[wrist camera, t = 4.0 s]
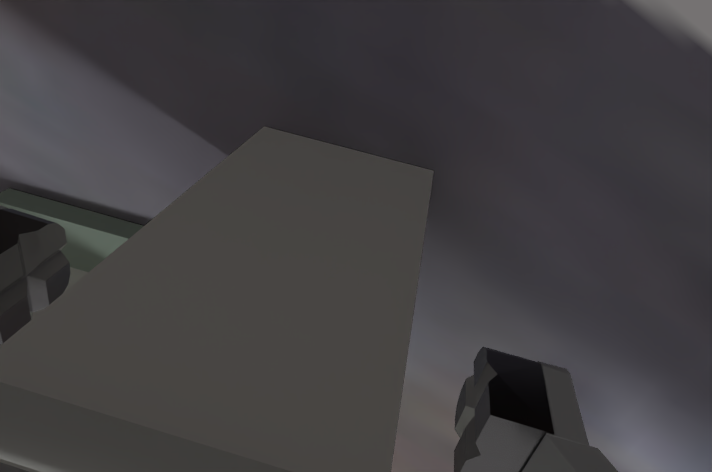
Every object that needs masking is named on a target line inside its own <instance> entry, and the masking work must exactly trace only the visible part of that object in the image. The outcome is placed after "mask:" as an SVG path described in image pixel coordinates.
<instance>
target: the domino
mask: <svg viewBox="0 0 712 472" xmlns="http://www.w3.org/2000/svg"><path fill="white" fill-rule="evenodd" d="M433 174H434V171H433V170H429V169H425V168H421V167H418V166H414V165H410V164H406V163H402V162H398V161H395V160H391V159H387V158H383V157H379V156H376V155H372V154H368V153H364V152H360V151H356V150H353V149H349V148H345V147H341V146H337V145H334V144H330V143H326V142H322V141H318V140H314V139H311V138H307V137H303V136H299V135H295V134H292V133H288V132H284V131H280V130H276V129H272V128H269V127H265V126H264V127H263V128H262V129H260V130H259V131H258V132H257V133H256V134H254V135H253V136H252V137H251V138H249V139H248V140H247V141H246V142H245V143H243V144H242V145H241V146H240V147H239V148H237V149H236V150H235V151H234V152H233V153H231V154H230V155H229V156H228V157H227V158H225V159H224V160H223V161H222V162H221V163H219V164H218V165H217V166H216V167H215V168H213V169H212V170H211V171H210V172H209V173H207V174H206V175H205V176H204V177H203V178H201V179H200V180H199V181H198V182H197V183H195V184H194V185H193V186H192V187H191V188H189V189H188V190H187V191H186V192H185V193H183V194H182V195H181V196H180V197H179V198H177V199H176V200H175V201H174V202H173V203H171V204H170V205H169V206H168V207H166V208H165V209H164V210H163V211H162V212H160V213H159V214H158V215H157V216H156V217H154V218H153V219H152V220H151V221H150V222H148V223H147V224H146V225H145V226H144V227H142V228H141V229H140V230H139V231H138V232H136V233H135V234H134V235H133V236H132V237H130V238H129V239H128V240H127V241H126V242H124V243H123V244H122V245H121V246H120V247H118V248H117V249H116V250H115V251H114V252H112V253H111V254H110V255H109V256H108V257H106V258H105V259H104V260H103V261H102V262H100V263H99V264H98V265H97V266H96V267H94V268H93V269H92V270H91V271H90V272H88V273H87V274H86V275H85V276H83V277H82V278H81V279H80V280H79V281H77V282H76V283H75V284H74V285H73V286H71V287H70V288H69V289H68V290H67V291H65V292H64V293H63V294H62V295H61V296H59V297H58V298H57V299H56V300H55V301H53V302H52V303H51V304H50V305H49V306H47V307H46V308H45V309H44V310H43V311H41V312H40V313H39V314H38V315H37V316H35V317H34V318H33V319H32V320H31V321H29V322H28V323H27V324H26V325H25V326H23V327H22V328H21V329H20V330H19V331H17V332H16V333H15V334H14V335H13V336H11V337H10V338H9V339H8V340H7V341H5V342H4V343H3V344H2V345H0V459H3V460H6V461H9V462H12V463H15V464H18V465H21V466H25V467H28V468H31V469H34V470H37V471H40V472H391V468H392V461H393V454H394V447H395V440H396V433H397V426H398V419H399V412H400V405H401V398H402V391H403V384H404V377H405V370H406V363H407V356H408V349H409V342H410V335H411V328H412V321H413V314H414V307H415V300H416V293H417V286H418V279H419V272H420V265H421V258H422V251H423V244H424V237H425V230H426V223H427V216H428V209H429V202H430V195H431V188H432V181H433Z"/></svg>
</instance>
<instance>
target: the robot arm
mask: <svg viewBox="0 0 712 472" xmlns="http://www.w3.org/2000/svg"><path fill="white" fill-rule="evenodd" d="M66 244H67V240H66V234H65V229H64V228H63V227H62V226H60V225H59V224H58V223H55V222H52V221H49V220H46V219H43V218H39V217H36V216H33V215H30V214H27V213H23V212H20V211H17V210H14V209H9V208H6V207H3V206H0V345H2V344H3V343H4V342H5V341H7V340H8V339H9V338H10V337H11V336H13V335H14V334H15V333H16V332H17V331H19V330H20V329H21V328H22V327H23V326H25V325H26V324H27V323H28V322H29V321H31V320H32V317H33V312H36V311H39V310H43V309H45V308H46V307H47V306H49V305H50V304H51V303H52V302H53V301H55V300H56V299H57V298H58V297H59V296H61V295H62V294H63V293H64V291H65V289H66V287H67V286H68V283H69V278H70V263H69V261H68V260H67V258H66V257H65V256H64V254H63V253H62V251H61V250H62V249H63V247H64V246H65V245H66ZM455 430H456V432H457V434H458V435H459V437H460V440H459V442H458V444H457V446H456V448H455V450H454V472H618V471H617V470H616V469H615V467H614V466H613V465H612V464H611V463H610V462H609V461H608V459H607V458H606V457H605V456H604V455H603V454H602V452H601V451H600V450H599V449H598V448H595V447H591V446H589V443H588V439H587V435H586V432H585V428H584V424H583V420H582V417H581V413H580V409H579V405H578V402H577V398H576V394H575V390H574V386H573V383H572V379H571V375H570V373H569V372H568V370H567V369H565V368H561V367H557V366H554V365H550V364H546V363H542V362H539V361H538V362H535V361H532V360H529V359H525V358H522V357H518V356H515V355H511V354H508V353H504V352H501V351H497V350H493V349H490V348H486V347H482V348H481V349H480V351H479V352H478V354H477V356H476V358H475V360H474V375H473V376H471V377H469V378H467V379H466V380H465V382H464V385H463V387H462V389H461V392H460V395H459V399H458V403H457V407H456V415H455ZM0 472H29V471H26V470H23V469H20V468H17V467H13V466H10V465H7V464H4V463H1V462H0Z"/></svg>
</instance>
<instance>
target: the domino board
mask: <svg viewBox="0 0 712 472" xmlns="http://www.w3.org/2000/svg"><path fill="white" fill-rule="evenodd" d="M0 206H3V207H6V208H9V209H14V210H17V211H20V212H23V213H27V214H30V215H33V216H36V217H39V218H43V219H46V220H49V221H52V222H55V223H58V224H59V225H60V226H62V227H63V228H64V229H65V234H66V240H67V244H66V245H65V246H64V247H63V249H62V250H61V251H62V253H63V254H64V256H65V257H66V258H67V260H68V261H69V263H70V267H72V268H75V269H79V270H82V271H86V272H90V271H91V270H92V269H93V268H94V267H96V266H97V265H98V264H99V263H100V262H102V261H103V260H104V259H105V258H106V257H108V256H109V255H110V254H111V253H112V252H114V251H115V250H116V249H117V248H118V247H120V246H121V245H122V244H123V243H124V242H126V241H127V240H128V239H129V238H130V237H132V236H133V235H134V234H135V233H136V232H138V231H139V230H140V229H141V228H142V227H144V226H142V225H139V224H135V223H131V222H128V221H124V220H121V219H117V218H114V217H110V216H107V215H103V214H99V213H96V212H92V211H89V210H85V209H82V208H78V207H74V206H71V205H67V204H64V203H60V202H57V201H53V200H49V199H46V198H42V197H39V196H35V195H32V194H28V193H25V192H21V191H17V190H14V189H10V188H9V189H7V190H5V191H3V192H1V193H0Z"/></svg>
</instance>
